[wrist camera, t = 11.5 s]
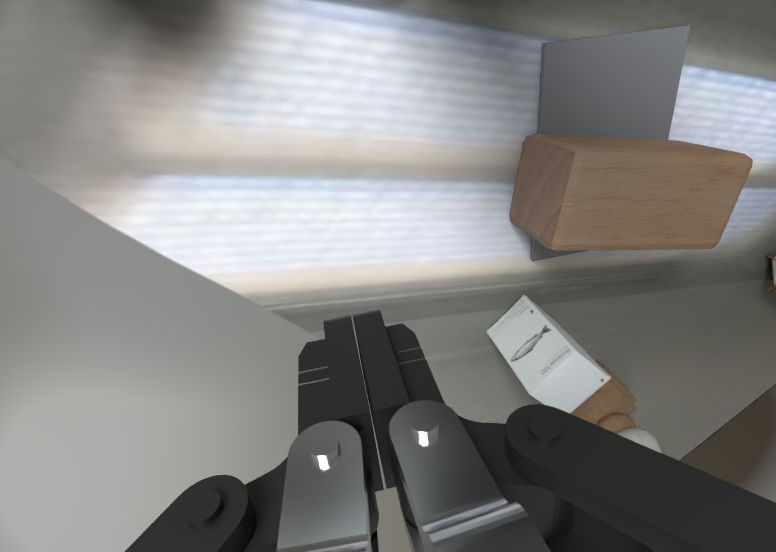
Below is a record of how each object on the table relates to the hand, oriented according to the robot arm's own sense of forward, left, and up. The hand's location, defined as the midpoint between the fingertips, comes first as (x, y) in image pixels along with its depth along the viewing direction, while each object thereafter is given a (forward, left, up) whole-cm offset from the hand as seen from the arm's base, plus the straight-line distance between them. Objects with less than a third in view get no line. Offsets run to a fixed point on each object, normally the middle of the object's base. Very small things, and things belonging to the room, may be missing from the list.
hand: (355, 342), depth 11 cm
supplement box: (+28, +23, -35) cm, 51 cm away
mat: (+6, +32, -35) cm, 48 cm away
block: (+7, +21, -29) cm, 37 cm away
